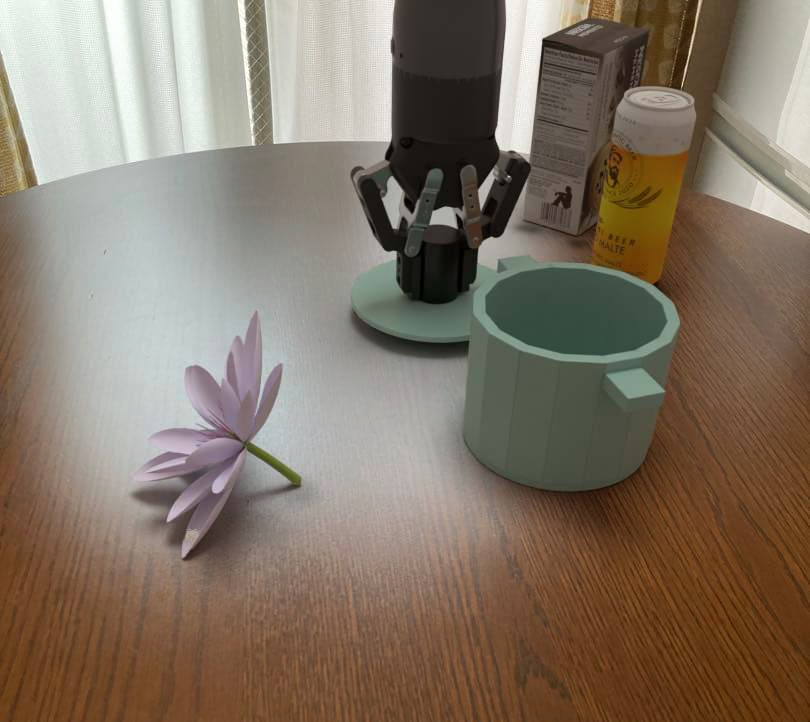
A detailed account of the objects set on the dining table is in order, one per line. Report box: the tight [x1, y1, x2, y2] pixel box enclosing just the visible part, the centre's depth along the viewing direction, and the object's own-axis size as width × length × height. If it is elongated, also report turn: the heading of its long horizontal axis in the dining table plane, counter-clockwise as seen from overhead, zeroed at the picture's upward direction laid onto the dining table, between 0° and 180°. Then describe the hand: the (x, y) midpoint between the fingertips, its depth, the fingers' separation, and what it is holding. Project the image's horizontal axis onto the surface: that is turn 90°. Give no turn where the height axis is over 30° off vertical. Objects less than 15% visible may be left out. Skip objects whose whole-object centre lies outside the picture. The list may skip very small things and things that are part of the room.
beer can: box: [590, 85, 697, 285], centre depth 75 cm, size 6×6×15 cm
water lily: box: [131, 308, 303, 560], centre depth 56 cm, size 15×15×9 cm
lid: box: [350, 223, 498, 344], centre depth 73 cm, size 14×14×6 cm
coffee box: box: [522, 17, 651, 237], centre depth 85 cm, size 9×6×16 cm
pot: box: [462, 254, 681, 492], centre depth 60 cm, size 13×18×10 cm
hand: (436, 290), depth 74 cm, fingers closed on lid, 3 cm apart
